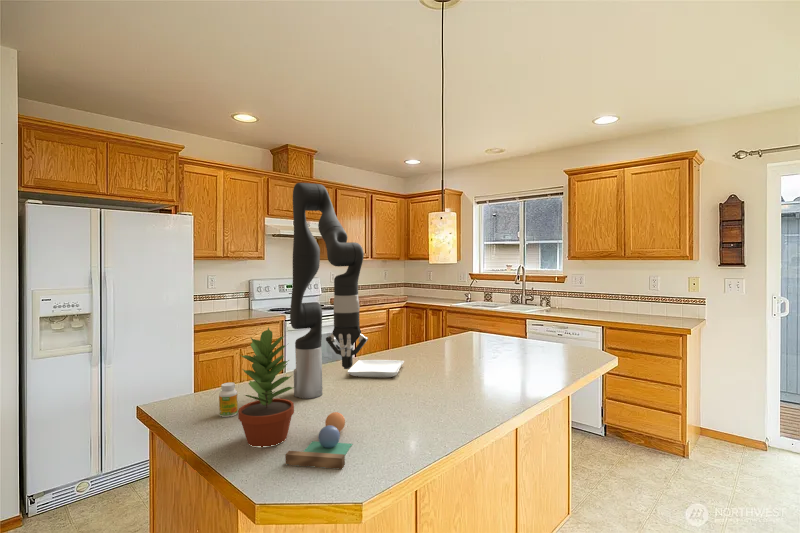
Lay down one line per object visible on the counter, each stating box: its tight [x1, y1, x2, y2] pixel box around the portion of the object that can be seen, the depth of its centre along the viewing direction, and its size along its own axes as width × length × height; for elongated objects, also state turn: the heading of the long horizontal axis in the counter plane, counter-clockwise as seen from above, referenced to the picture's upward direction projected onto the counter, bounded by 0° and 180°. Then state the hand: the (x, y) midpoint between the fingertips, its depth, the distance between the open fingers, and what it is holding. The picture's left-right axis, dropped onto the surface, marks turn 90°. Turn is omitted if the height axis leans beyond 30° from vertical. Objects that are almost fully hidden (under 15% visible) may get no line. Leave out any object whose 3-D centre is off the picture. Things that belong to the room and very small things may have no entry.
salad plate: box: [347, 359, 405, 378], centre depth 183 cm, size 21×21×3 cm
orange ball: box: [324, 411, 346, 433], centre depth 119 cm, size 6×6×6 cm
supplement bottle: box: [218, 381, 239, 418], centre depth 135 cm, size 5×5×10 cm
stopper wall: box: [284, 450, 346, 470], centre depth 101 cm, size 14×2×2 cm, turn 79°
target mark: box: [302, 440, 353, 456], centre depth 107 cm, size 11×11×1 cm
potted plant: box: [237, 326, 296, 447], centre depth 115 cm, size 15×15×30 cm
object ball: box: [317, 425, 341, 448], centre depth 110 cm, size 6×6×6 cm
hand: (347, 368), depth 126 cm, fingers closed
